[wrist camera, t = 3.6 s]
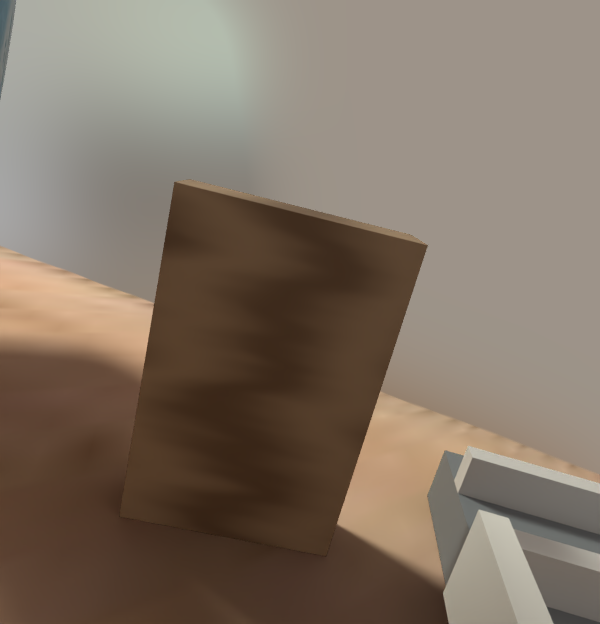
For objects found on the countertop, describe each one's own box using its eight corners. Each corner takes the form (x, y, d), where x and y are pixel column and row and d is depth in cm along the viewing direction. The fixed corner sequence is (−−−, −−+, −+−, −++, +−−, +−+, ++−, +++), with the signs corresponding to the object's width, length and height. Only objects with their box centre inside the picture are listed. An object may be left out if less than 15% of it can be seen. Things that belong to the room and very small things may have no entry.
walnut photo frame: (119, 516, 20) (174, 181, 16) (138, 477, 23) (190, 178, 19) (325, 556, 21) (427, 245, 17) (322, 514, 24) (410, 234, 20)
